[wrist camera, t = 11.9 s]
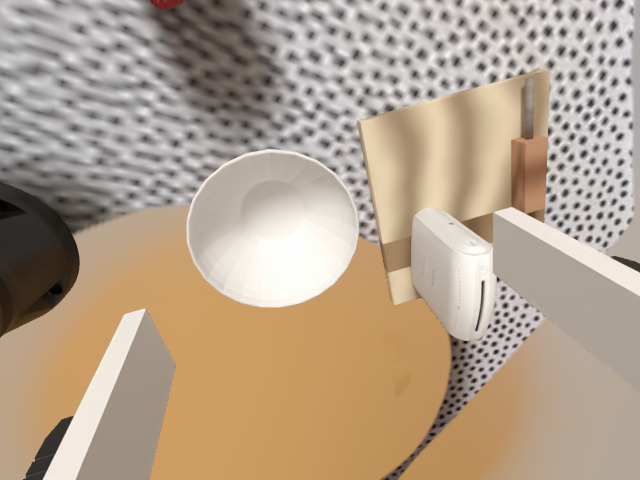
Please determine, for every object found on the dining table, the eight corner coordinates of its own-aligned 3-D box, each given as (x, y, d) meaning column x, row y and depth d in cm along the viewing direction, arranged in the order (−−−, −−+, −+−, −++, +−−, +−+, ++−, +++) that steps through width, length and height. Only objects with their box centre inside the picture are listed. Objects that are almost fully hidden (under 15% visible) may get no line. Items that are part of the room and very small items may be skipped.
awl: (530, 201, 43) (544, 208, 41) (511, 207, 43) (524, 214, 41) (533, 74, 37) (550, 74, 35) (510, 80, 37) (526, 81, 35)
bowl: (345, 133, 38) (363, 146, 32) (343, 268, 45) (357, 300, 38) (186, 139, 36) (170, 153, 30) (208, 280, 43) (199, 316, 36)
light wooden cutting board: (390, 299, 48) (394, 305, 46) (356, 120, 38) (360, 122, 36) (534, 256, 48) (542, 261, 47) (539, 69, 38) (549, 69, 37)
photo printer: (408, 208, 41) (464, 259, 30) (445, 203, 41) (513, 251, 30) (407, 286, 45) (455, 355, 34) (440, 280, 46) (498, 347, 35)
